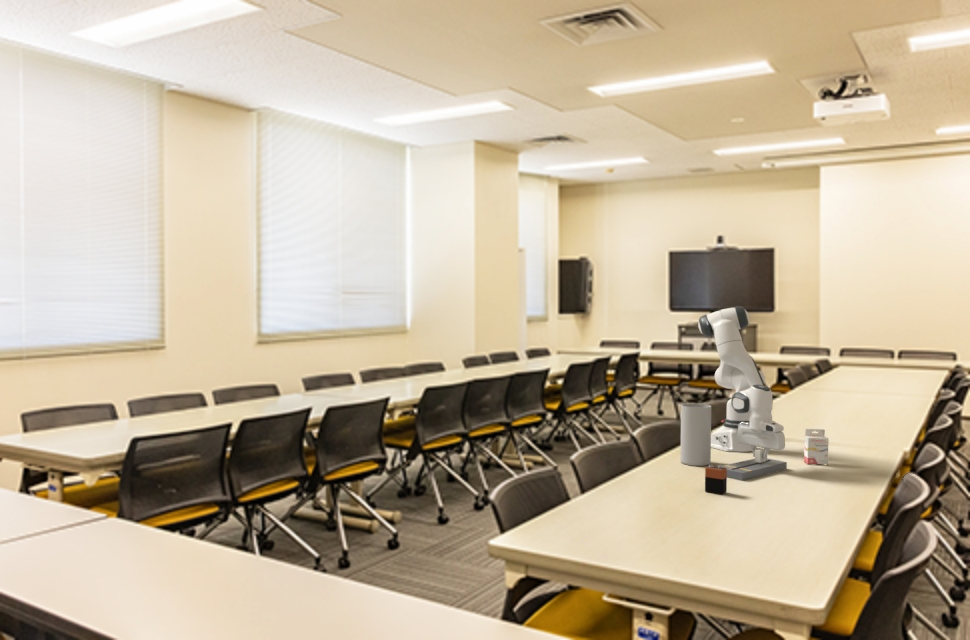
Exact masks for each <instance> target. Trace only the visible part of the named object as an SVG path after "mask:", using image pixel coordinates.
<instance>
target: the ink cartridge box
mask: <svg viewBox="0 0 970 640" xmlns="http://www.w3.org/2000/svg"><path fill="white" fill-rule="evenodd" d="M804 432H805V434H804V448H803V449H804V453H803V455H804V457H803V462H804V463H805V462H806V463H807V464H806V463H805V464H806V465H810V464H828V465H829V437H827V436H825V434H826V433H825V432H826V431H825V429H822V428H806V429H805V431H804Z"/></svg>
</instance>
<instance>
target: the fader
mask: <svg viewBox="0 0 970 640" xmlns="http://www.w3.org/2000/svg"><path fill="white" fill-rule="evenodd" d="M764 452H765V451H764V448H758V449H757V448H756V450H755V457H754V459H755V462H758V464H760V463H762V462H765V459H763V458H762V454H764Z"/></svg>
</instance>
